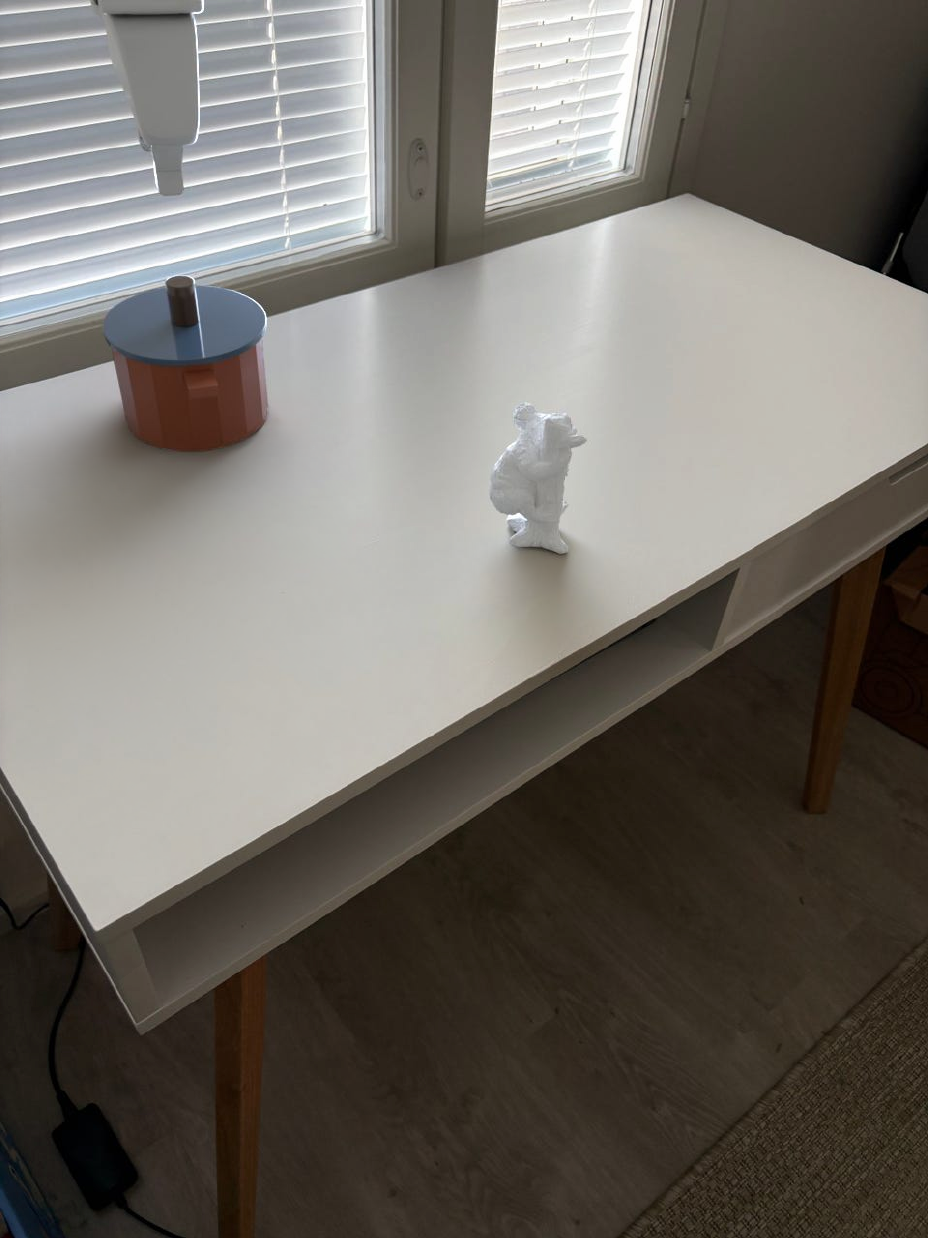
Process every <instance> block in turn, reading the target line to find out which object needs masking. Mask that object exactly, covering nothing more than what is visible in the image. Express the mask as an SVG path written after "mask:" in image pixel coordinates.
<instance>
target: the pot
mask: <svg viewBox="0 0 928 1238" xmlns="http://www.w3.org/2000/svg"><path fill="white" fill-rule="evenodd" d="M110 349H111V355H112V359H113V364H114V368H115V374H116V378H117V384H118V388H119V393H120V398H121V403H122V408H123V415H124V418H125V423H126V426H127V428H128V430H129V431H130V432H131V434H132V435H134V436H135V437H136V438H137V439H139V440H140V441H142V442H144V443H145V444H148V445H150V446H152V447H156V448H159V449H163V450H168V451H175V452H204V451H212V450H216V449H221V448H225V447H229V446H231V445H234V444H237V443H239V442H242V441H243V440H245V439H247V438H249V437H250V436H252V435H253V434H255V433H256V432H257V431H258V430H259V429H260V428H261V427H262V426H263V424H264V423H265V420H266V419H267V414H268V408H269V401H268V391H267V390H268V388H267V377H266V366H265V355H264V344H263V338H262V339H261V340H260V341H259V342H258V343H257V344H256V345H255V346H254V347H252V348H251V349H249V350H247V351H246V352H244V353H242V354H240V355H237V356H235V357H232V358H230V359H226V360H223V361H219V362H215V363H211V364H204V365H197V366H178V367H176V366H160V365H153V364H147V363H143V362H139V361H135V360H132V359H130V358H127V357H125V356H123V355H121V354H119V353H118V352H116V351H115V350H114V349H113V348H111V347H110Z"/></svg>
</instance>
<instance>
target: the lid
mask: <svg viewBox="0 0 928 1238" xmlns="http://www.w3.org/2000/svg"><path fill="white" fill-rule="evenodd" d="M164 284H165V287H160V288H154V289H150V290H147V291H143V292H139V293H137V294H135V295H132V296H129V297H127V298H126V299H123V300H122V301H120V302H119V303H117V304H116V305H114V306H113V307H112V308H111V309H110V310H109V311H108V312H107V314H106V315H105V316H104V318H103V322H102V333H103V338H104V340H105V341H106V343H107V345H109V347H110V349H111V348H113V349H114V350H115V351H116V352H118V353H119V354H121V355H123V356H125V357H127V358H130V359H132V360H135V361H139V362H143V363H147V364H153V365H160V366H176V367H178V366H197V365H204V364H211V363H215V362H219V361H223V360H226V359H230V358H232V357H235V356H237V355H240V354H242V353H244V352H246V351H247V350H249V349H251V348H252V347H254V346H255V345H256V344H257V343H258V342H259V341H260V340H261V339H262V340H263V338H264V336H265V334H266V332H267V328H268V323H267V322H268V321H267V314H266V312H265V311H264V309H263V307H262V306H261V305H260V304H259V303H258V302H257V301H256V300H254V299H253V298H251V297H249V296H248V295H245V294H242V293H241V292H238V291H235V290H232V289H227V288H223V287H217V286H210V285H196V281H195V279H194V278H193V277H191V276H189V275H183V274H182V275H181V274H180V275H173V276H170V277H167V279H166V280H165V282H164Z"/></svg>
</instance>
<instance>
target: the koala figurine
mask: <svg viewBox="0 0 928 1238" xmlns="http://www.w3.org/2000/svg"><path fill="white" fill-rule="evenodd" d="M512 414H513V415H512V419H513V420H512V422H513V424H514V426H515V427H516V428H517V429H518V430H520V431H521V432H520V433H519V435H518V438H516V439H515V441H513V442H512V444H509V445H508V446H507V447H506V449H505V451H504V452H503V453H502V454H501V455H500V457H499V458H498V460H497V461H496V462H495V464H494V465H493V469H492V471H491V475H490V484H489V490H488V492H489V499H490V502H491V503H492V505H493V507H494V508H495V510H496V511H497V512H499V513H500V514H505V515H506V516H507V517H506V520H505V521H506V523H507V525H508V526H509V527H510V528H511V530H513V531H514V532H516V533H514V534H513V535H512V536H511V537H509V542H508V543H509V544H510V545H511V546H514V547H518V548H522V547H523V548H528V547H529V548H530V547H532V548H534V547H535V548H543V549H546V550H549V551H551V552H555V553H556V554H559V555H565V554H567V553H568V552H569V546H568V545H567V543H566V542H565V541H564V540H563V538H562V535H561V534H560V522H561V521H560V519H561V516H562V515H563V514H564V513H565V512H566V510H567V508H568V507H569V503H568V501H566V500H564V493H565V480H566V477H569V473H568V472H569V471H570V469H569V465H570V463H571V460H572V457H573V451H572V449H574V448H578V447H581V446H583V445H584V444H586V442H587V440H588V439H587V438H586V437H585V436H584V435H581V434H577V432H578V429H577V428H576V427H575V426H574V425H573V423H572V418H571V416H570V415H569V414H568V413H558V412H557V413H554V412H551V413H542V412H541V413H539V412H538V411H537V408H536V407H535V406H534V405H532V403H529V402H521V403H520V402H519V404H517V405H516V407H515V409H514V412H513V413H512Z"/></svg>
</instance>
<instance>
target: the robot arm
mask: <svg viewBox="0 0 928 1238" xmlns="http://www.w3.org/2000/svg"><path fill="white" fill-rule="evenodd" d="M89 1H90V7H91V11H92V12H93V14H95V15H96V16H98V17H100V18H102V19H103V20H104V26H105V32H106V33H105V34H106V39H107V44H108V45H107V46H108V52H109V56H110V60H111V63H112V66H113V68H114V71H115V73H116V76H117V79H118V81H119V84H120V86H121V88H122V90H123V94H124V96H125V98H126V101H127V104H128V106H129V108H130V111H131V114H132V116H133V118H134V121H135V125H136V130H137V131H136V132H137V139H138V142H139V145H140V147H141V148H142V150H143V151H145V152H146V153H147V152H151V155H152V156H151V157H152V162H153V163H152V164H153V166H152V167H153V174H154V181H155V185H156V188H157V191H158V193H159V194H160V195H161V196H163V197H173V196H174V197H175V196H180V195H182V194H183V193H184V189H185V188H184V177H183V157H184V146H190V145H194V144H195V143H196V142H197V140H198V137H199V130H200V117H201V116H200V79H199V78H200V77H199V76H200V75H199V52H198V50H199V49H198V47H199V46H198V33H197V22H196V17H195V14H201V13H203V12H204V8H205V3H204V2H205V1H204V0H89Z"/></svg>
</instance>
